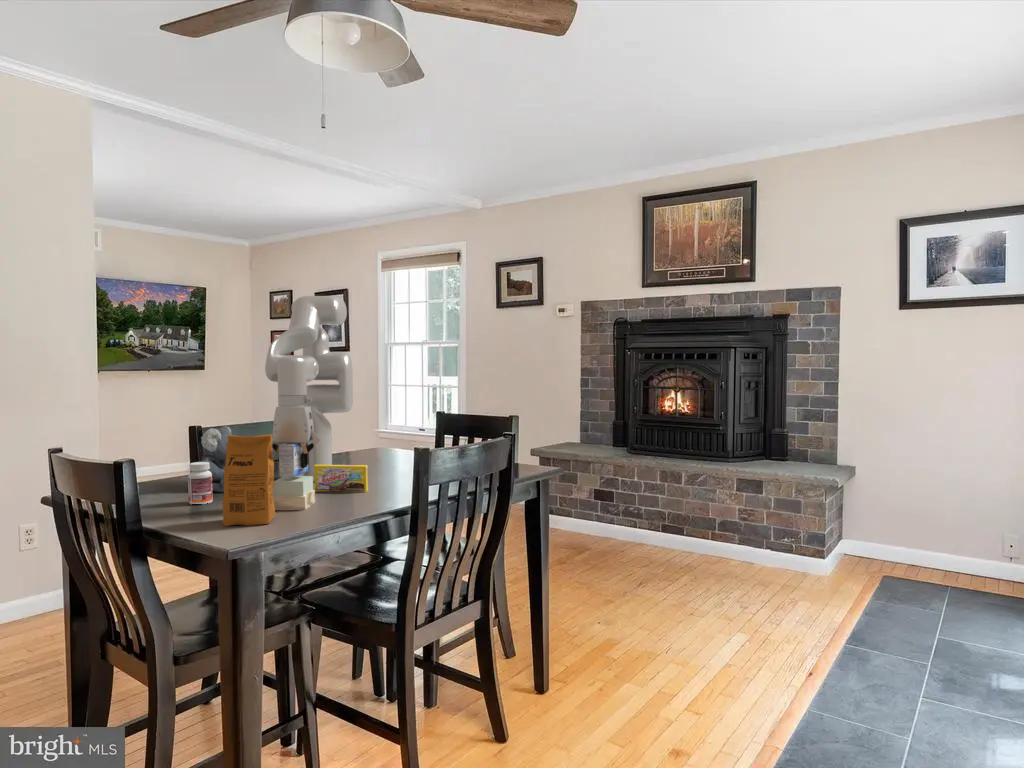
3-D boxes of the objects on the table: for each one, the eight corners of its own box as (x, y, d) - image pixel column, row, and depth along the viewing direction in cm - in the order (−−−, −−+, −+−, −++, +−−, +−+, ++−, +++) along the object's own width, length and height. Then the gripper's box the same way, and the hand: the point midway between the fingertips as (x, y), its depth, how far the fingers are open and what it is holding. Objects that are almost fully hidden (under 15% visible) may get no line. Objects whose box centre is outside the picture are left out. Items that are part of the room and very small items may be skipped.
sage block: (284, 490, 193) (284, 476, 193) (313, 490, 193) (312, 476, 193) (274, 496, 185) (273, 481, 185) (303, 496, 185) (303, 481, 185)
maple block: (283, 504, 193) (282, 490, 193) (315, 504, 193) (314, 490, 193) (271, 511, 184) (271, 496, 184) (305, 511, 184) (304, 496, 184)
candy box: (313, 492, 209) (313, 465, 208) (316, 491, 211) (315, 464, 210) (366, 492, 208) (366, 465, 207) (368, 491, 210) (368, 464, 209)
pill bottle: (217, 502, 195) (216, 462, 194) (197, 506, 190) (196, 465, 189) (204, 499, 198) (203, 460, 198) (184, 503, 193) (183, 463, 193)
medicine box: (294, 477, 185) (293, 445, 184) (279, 476, 186) (278, 444, 185) (308, 472, 192) (307, 441, 192) (293, 471, 193) (293, 440, 193)
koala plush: (236, 493, 207) (235, 429, 206) (177, 493, 207) (175, 429, 206) (258, 482, 225) (256, 423, 224) (203, 482, 225) (201, 423, 224)
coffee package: (230, 517, 177) (228, 432, 176) (280, 516, 178) (278, 431, 177) (216, 527, 167) (214, 437, 166) (269, 526, 168) (267, 436, 167)
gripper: (327, 400, 192) (328, 465, 193) (266, 400, 192) (267, 465, 193) (320, 402, 184) (321, 469, 185) (256, 402, 184) (257, 470, 185)
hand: (293, 466), depth 189 cm, fingers closed on medicine box, 5 cm apart
